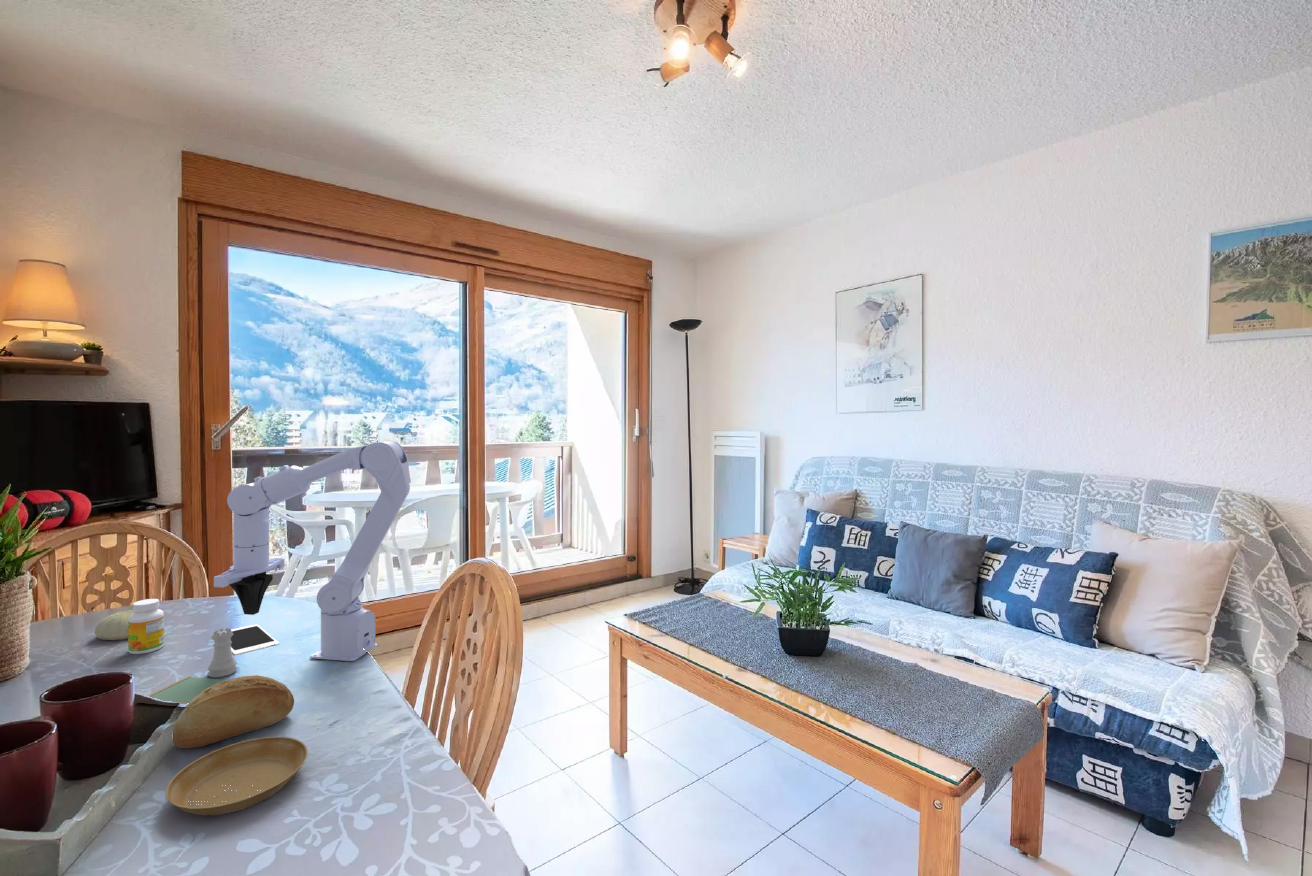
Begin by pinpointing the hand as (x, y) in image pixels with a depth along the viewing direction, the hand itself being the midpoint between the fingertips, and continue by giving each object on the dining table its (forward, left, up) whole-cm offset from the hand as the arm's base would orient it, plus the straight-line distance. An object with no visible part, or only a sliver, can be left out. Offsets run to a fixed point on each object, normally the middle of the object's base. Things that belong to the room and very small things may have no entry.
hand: (251, 613), depth 111 cm
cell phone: (+9, -9, -10) cm, 16 cm away
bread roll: (-19, +23, -9) cm, 32 cm away
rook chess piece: (0, +6, -9) cm, 11 cm away
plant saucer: (-30, +34, -10) cm, 47 cm away
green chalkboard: (-2, +14, -9) cm, 17 cm away
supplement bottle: (+24, -1, -9) cm, 26 cm away
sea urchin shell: (+36, -7, -9) cm, 38 cm away
